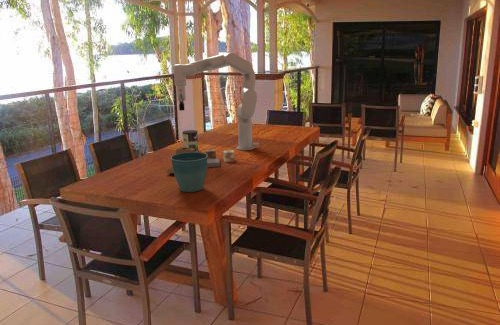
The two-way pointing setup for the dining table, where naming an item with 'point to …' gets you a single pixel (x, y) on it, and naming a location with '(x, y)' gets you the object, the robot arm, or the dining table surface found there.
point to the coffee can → (190, 139)
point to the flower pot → (190, 170)
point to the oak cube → (229, 156)
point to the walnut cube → (211, 153)
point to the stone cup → (178, 150)
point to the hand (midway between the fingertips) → (181, 109)
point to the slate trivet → (213, 162)
